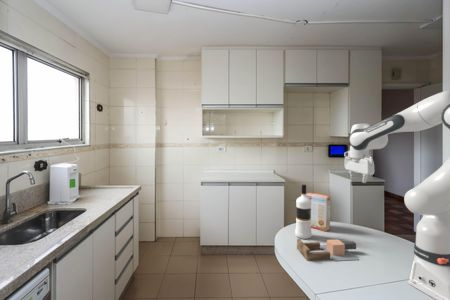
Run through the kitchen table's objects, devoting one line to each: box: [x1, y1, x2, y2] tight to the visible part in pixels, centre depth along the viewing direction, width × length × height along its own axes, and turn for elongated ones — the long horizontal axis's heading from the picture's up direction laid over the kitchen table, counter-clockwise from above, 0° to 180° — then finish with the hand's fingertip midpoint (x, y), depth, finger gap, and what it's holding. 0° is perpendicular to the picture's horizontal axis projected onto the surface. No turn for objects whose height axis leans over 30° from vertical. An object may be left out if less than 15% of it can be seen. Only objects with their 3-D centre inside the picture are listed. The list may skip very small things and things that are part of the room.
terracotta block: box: [326, 239, 357, 255], centre depth 125 cm, size 6×13×5 cm, turn 96°
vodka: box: [294, 184, 313, 240], centre depth 144 cm, size 9×9×30 cm
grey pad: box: [320, 244, 360, 262], centre depth 125 cm, size 16×12×1 cm
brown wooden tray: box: [296, 238, 331, 261], centre depth 124 cm, size 12×12×5 cm
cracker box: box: [306, 192, 332, 232], centre depth 158 cm, size 14×6×21 cm, turn 44°
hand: (358, 180), depth 132 cm, fingers open, 8 cm apart
